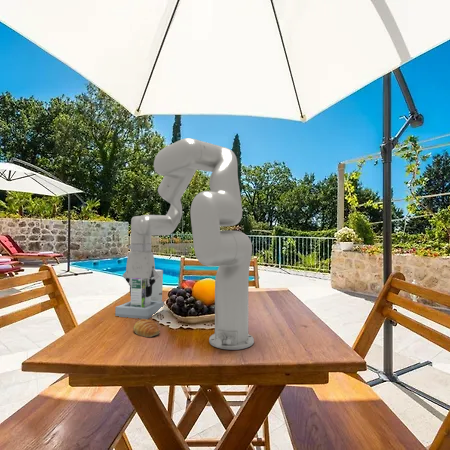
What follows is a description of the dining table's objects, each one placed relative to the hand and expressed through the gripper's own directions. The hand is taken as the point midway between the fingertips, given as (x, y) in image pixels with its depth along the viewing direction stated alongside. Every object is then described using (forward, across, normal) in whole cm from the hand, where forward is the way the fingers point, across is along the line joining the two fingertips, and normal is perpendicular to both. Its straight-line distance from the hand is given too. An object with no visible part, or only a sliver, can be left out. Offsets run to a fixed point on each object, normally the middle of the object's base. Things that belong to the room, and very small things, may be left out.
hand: (140, 295), depth 121 cm
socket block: (+7, 0, 0) cm, 7 cm away
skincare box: (+7, -3, +14) cm, 16 cm away
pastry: (+7, +14, -20) cm, 25 cm away
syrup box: (+5, 0, 0) cm, 5 cm away
